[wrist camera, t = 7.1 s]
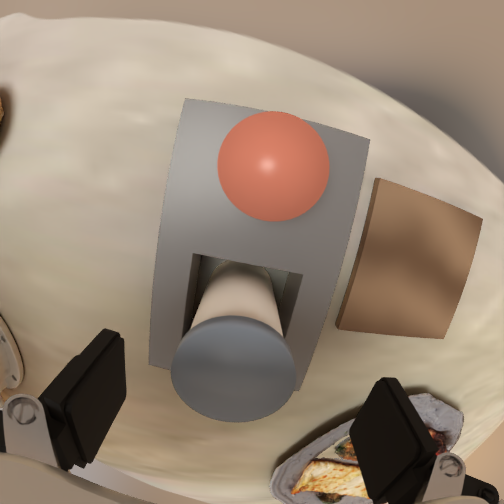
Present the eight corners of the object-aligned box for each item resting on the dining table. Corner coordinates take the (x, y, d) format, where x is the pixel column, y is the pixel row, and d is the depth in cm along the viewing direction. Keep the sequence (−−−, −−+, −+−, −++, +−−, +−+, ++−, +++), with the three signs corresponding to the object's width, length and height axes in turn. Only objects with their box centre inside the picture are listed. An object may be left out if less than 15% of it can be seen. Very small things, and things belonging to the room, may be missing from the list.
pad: (439, 334, 21) (443, 339, 20) (335, 324, 21) (338, 329, 20) (477, 217, 19) (482, 219, 18) (375, 178, 18) (380, 178, 17)
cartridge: (266, 324, 20) (278, 427, 11) (201, 312, 20) (168, 410, 10) (281, 262, 19) (312, 339, 10) (211, 248, 19) (175, 315, 9)
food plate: (477, 416, 25) (488, 430, 22) (363, 504, 30) (367, 520, 26) (380, 356, 22) (394, 379, 19) (234, 478, 27) (233, 499, 23)
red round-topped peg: (292, 213, 18) (316, 232, 11) (222, 199, 18) (207, 209, 11) (306, 145, 17) (338, 127, 10) (237, 130, 17) (230, 102, 10)
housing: (291, 358, 21) (299, 391, 17) (163, 335, 21) (148, 364, 17) (346, 147, 18) (370, 139, 14) (198, 114, 17) (185, 98, 13)
